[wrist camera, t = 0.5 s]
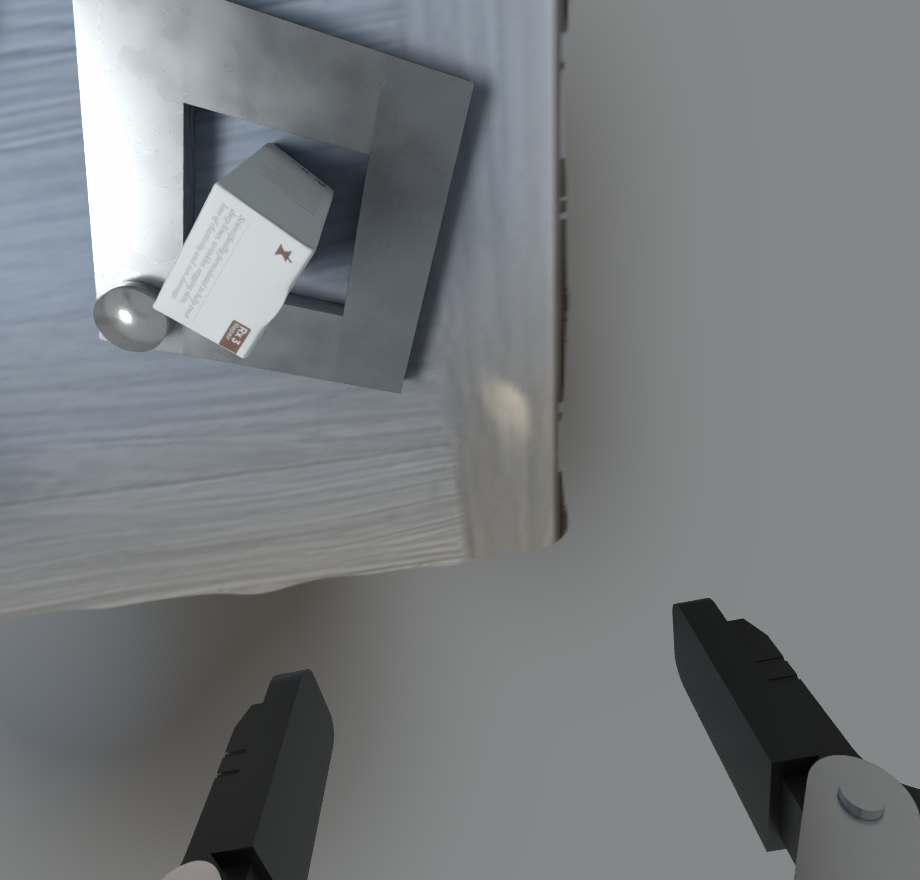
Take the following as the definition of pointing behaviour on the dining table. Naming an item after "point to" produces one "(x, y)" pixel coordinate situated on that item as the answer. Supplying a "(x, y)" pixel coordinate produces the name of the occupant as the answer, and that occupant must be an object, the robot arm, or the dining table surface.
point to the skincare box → (246, 250)
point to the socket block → (277, 106)
